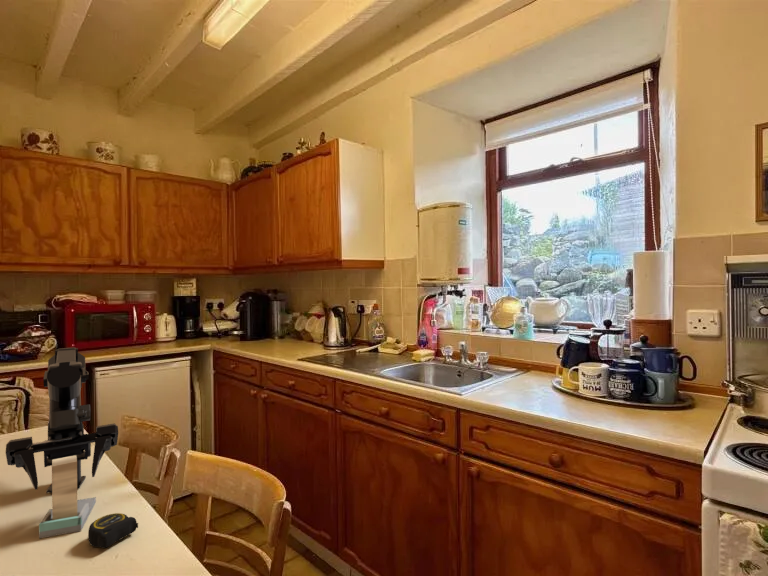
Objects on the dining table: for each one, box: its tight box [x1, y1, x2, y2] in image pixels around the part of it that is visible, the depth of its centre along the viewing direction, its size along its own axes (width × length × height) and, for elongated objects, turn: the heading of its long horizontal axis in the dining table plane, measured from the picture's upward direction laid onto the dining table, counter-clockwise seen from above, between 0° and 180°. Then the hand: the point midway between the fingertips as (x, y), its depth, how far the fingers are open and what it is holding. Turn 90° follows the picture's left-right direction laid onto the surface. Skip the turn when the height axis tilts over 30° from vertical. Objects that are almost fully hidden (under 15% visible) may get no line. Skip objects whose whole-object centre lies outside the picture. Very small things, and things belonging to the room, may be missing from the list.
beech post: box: [51, 455, 78, 520], centre depth 88 cm, size 4×4×12 cm
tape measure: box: [87, 512, 139, 549], centre depth 83 cm, size 7×7×4 cm
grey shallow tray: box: [38, 496, 97, 539], centre depth 90 cm, size 12×7×3 cm, turn 22°
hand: (65, 482), depth 87 cm, fingers open, 9 cm apart
